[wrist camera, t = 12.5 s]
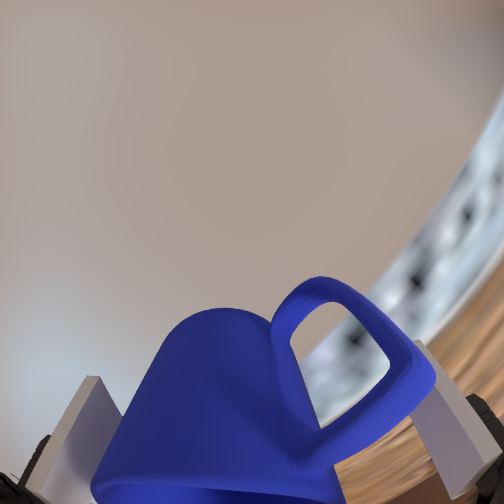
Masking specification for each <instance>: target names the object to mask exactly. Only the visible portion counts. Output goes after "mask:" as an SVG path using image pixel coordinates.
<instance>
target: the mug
mask: <svg viewBox="0 0 504 504" xmlns="http://www.w3.org/2000/svg"><path fill="white" fill-rule="evenodd" d="M327 302H337V303H340V304H342V305H343V306H345V307H346V308H347V309H348V310H349V311H350V312H351V313H352V314H353V315H354V316H355V317H356V318H357V319H358V320H359V321H360V323H361V324H362V325H363V326H364V327H365V328H366V330H367V331H368V332H369V334H370V335H371V336H372V337H373V339H374V340H375V341H376V342H377V344H378V345H379V346H380V348H381V349H382V350H383V351H384V353H385V354H386V356H387V357H388V359H389V361H390V369H389V370H388V372H387V373H386V375H385V376H384V377H383V378H382V379H381V380H380V381H379V382H378V383H377V384H376V385H375V386H374V388H373V389H372V390H371V391H370V392H369V393H368V394H367V395H366V396H365V397H364V398H363V399H361V400H360V401H359V402H358V403H357V404H356V405H354V406H353V407H352V408H351V409H349V410H348V411H347V412H345V413H344V414H343V415H342V416H340V417H339V418H338V419H336V420H335V421H334V422H332V423H331V424H329V425H328V426H326V427H324V428H323V429H321V428H320V425H319V423H318V420H317V417H316V414H315V411H314V408H313V405H312V403H311V400H310V397H309V394H308V391H307V388H306V386H305V383H304V380H303V377H302V374H301V371H300V369H299V366H298V363H297V360H296V357H295V355H294V352H293V350H292V348H291V346H290V338H291V336H292V333H293V332H294V331H295V329H296V328H297V326H298V325H299V324H300V323H301V322H302V320H303V319H304V318H305V317H306V316H307V315H308V314H309V313H310V312H312V311H313V310H314V309H315V308H317V307H318V306H320V305H322V304H324V303H327ZM435 382H436V372H435V370H434V368H433V366H432V365H431V363H430V362H429V361H428V359H427V358H426V357H425V355H424V354H423V353H422V352H421V350H420V349H419V348H418V347H417V346H416V345H415V344H414V343H413V342H412V341H411V340H410V339H409V338H408V337H407V336H406V335H405V334H404V333H403V332H402V331H401V330H400V329H399V328H398V327H397V326H396V325H395V324H394V323H393V322H392V321H391V320H390V319H389V318H388V317H387V316H386V315H385V314H384V313H383V312H382V311H381V310H380V309H378V308H377V307H376V306H375V305H374V304H373V303H372V302H370V301H369V300H368V299H367V298H366V297H364V296H363V295H361V294H360V293H359V292H357V291H356V290H354V289H353V288H351V287H350V286H348V285H346V284H345V283H342V282H340V281H339V280H336V279H333V278H330V277H321V276H319V277H314V278H310V279H308V280H306V281H304V282H303V283H301V284H300V285H299V286H297V287H296V288H295V289H294V290H293V291H292V292H291V293H290V294H289V295H288V296H287V297H286V298H285V299H284V301H283V302H282V303H281V305H280V306H279V307H278V309H277V311H276V312H275V314H274V316H273V318H272V321H271V323H270V322H269V321H267V320H266V319H264V318H263V317H260V316H258V315H256V314H254V313H251V312H249V311H244V310H240V309H234V308H215V309H209V310H205V311H201V312H199V313H196V314H193V315H192V316H190V317H188V318H186V319H184V320H183V321H182V322H180V323H179V324H178V325H177V326H176V327H175V328H174V329H173V330H172V331H171V332H170V333H169V334H168V336H167V337H166V339H165V341H164V342H163V343H162V345H161V347H160V349H159V351H158V353H157V354H156V356H155V358H154V360H153V362H152V363H151V365H150V367H149V369H148V371H147V373H146V375H145V376H144V378H143V380H142V382H141V384H140V386H139V388H138V390H137V391H136V393H135V395H134V397H133V399H132V401H131V403H130V405H129V407H128V409H127V411H126V412H125V414H124V416H123V418H122V420H121V422H120V424H119V426H118V428H117V430H116V432H115V434H114V436H113V438H112V440H111V442H110V444H109V446H108V448H107V450H106V452H105V454H104V456H103V458H102V460H101V462H100V464H99V466H98V468H97V470H96V472H95V474H94V476H93V478H92V481H91V484H90V490H91V494H92V496H93V498H94V499H95V501H96V502H97V503H98V504H346V500H345V498H344V495H343V492H342V489H341V486H340V483H339V480H338V477H337V474H336V471H335V469H334V466H333V465H334V464H336V463H338V462H340V461H342V460H344V459H346V458H348V457H350V456H352V455H354V454H356V453H358V452H359V451H361V450H363V449H364V448H366V447H368V446H369V445H371V444H373V443H374V442H375V441H377V440H378V439H379V438H381V437H382V436H384V435H385V434H386V433H388V432H389V431H390V430H391V429H393V428H394V427H395V426H396V425H397V424H398V423H400V422H401V421H402V420H403V419H404V418H405V417H406V416H408V415H409V414H410V413H411V412H412V411H413V410H414V409H415V408H416V407H417V406H418V405H419V404H420V403H421V402H422V400H423V399H424V398H425V397H426V396H427V395H428V393H429V392H430V391H431V390H432V388H433V386H434V384H435Z"/></svg>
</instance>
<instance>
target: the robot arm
mask: <svg viewBox="0 0 504 504" xmlns="http://www.w3.org/2000/svg"><path fill="white" fill-rule="evenodd" d="M412 342H413V343H414V344H415V345H416V346H417V347H418V348H419V349H420V350H421V352H422V353H423V354H424V355H425V357H426V358H427V359H428V361H429V362H430V363H431V365H432V366H433V368H434V370H435V372H436V382H435V384H434V386H433V388H432V390H431V391H430V392H429V393H428V395H427V396H426V397H425V398H424V399H423V400H422V402H421V403H420V404H419V405H418V406H417V407H416V408H415V409H414V410H413V411H412V412H411V413H410V414H409V416H410V417H411V419H412V421H413V423H414V425H415V427H416V429H417V431H418V433H419V434H420V436H421V438H422V440H423V442H424V444H425V446H426V448H427V450H428V452H429V454H430V456H431V458H432V460H433V462H434V464H435V466H436V468H437V470H438V472H439V474H440V476H441V478H442V480H443V482H444V485H445V487H446V489H447V491H448V493H449V495H450V498H451V499H452V500H453V499H455V498H456V497H458V496H460V495H462V494H464V493H466V492H468V491H469V490H470V489H471V488H472V487H473V486H474V485H475V484H476V486H477V489H476V490H475V491H474V492H473V493H472V494H471V495H470V496H469V498H468V500H467V501H470V500H471V499H472V498H473V497H474V498H473V502H472V504H504V426H503V425H502V424H501V422H500V421H499V419H498V418H496V415H495V414H494V413H493V411H492V410H490V407H489V406H488V405H487V403H486V402H485V401H484V400H483V399H482V398H480V397H478V396H477V395H475V394H474V393H473V394H471V395H469V396H467V397H464V395H463V394H462V393H461V391H460V390H459V389H458V387H457V386H456V385H455V383H454V382H453V381H452V380H451V378H450V377H449V376H448V374H447V373H446V372H445V371H444V369H443V368H442V367H441V366H440V364H439V363H438V362H437V361H436V359H435V358H434V357H433V356H432V354H431V353H430V352H429V351H428V349H427V348H426V347H425V346H424V345H423V343H422V342H421V341H420V340H415V341H412ZM121 419H122V415H121V414H120V412H119V410H118V409H117V407H116V405H115V404H114V402H113V400H112V398H111V396H110V395H109V393H108V391H107V389H106V387H105V385H104V384H103V382H102V380H101V378H100V377H99V376H86V378H85V379H84V381H83V383H82V384H81V386H80V388H79V389H78V391H77V392H76V394H75V396H74V397H73V399H72V401H71V402H70V404H69V406H68V407H67V409H66V411H65V413H64V414H63V416H62V418H61V419H60V421H59V423H58V425H57V426H56V428H55V430H54V432H53V433H52V435H47V436H46V437H45V438H44V439H43V440H41V442H40V443H39V445H38V446H37V448H36V452H34V454H33V456H32V459H30V461H29V463H28V465H27V467H26V469H25V471H24V473H23V475H22V477H21V479H20V481H19V482H18V484H17V485H16V484H15V483H14V482H13V481H12V480H11V479H10V478H9V477H7V476H6V475H5V474H4V473H1V472H0V504H90V503H91V500H92V497H93V496H92V494H91V490H90V484H91V481H92V478H93V476H94V474H95V472H96V470H97V468H98V466H99V464H100V462H101V460H102V458H103V456H104V454H105V452H106V450H107V448H108V446H109V444H110V442H111V440H112V438H113V436H114V434H115V432H116V430H117V428H118V426H119V424H120V422H121Z"/></svg>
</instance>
